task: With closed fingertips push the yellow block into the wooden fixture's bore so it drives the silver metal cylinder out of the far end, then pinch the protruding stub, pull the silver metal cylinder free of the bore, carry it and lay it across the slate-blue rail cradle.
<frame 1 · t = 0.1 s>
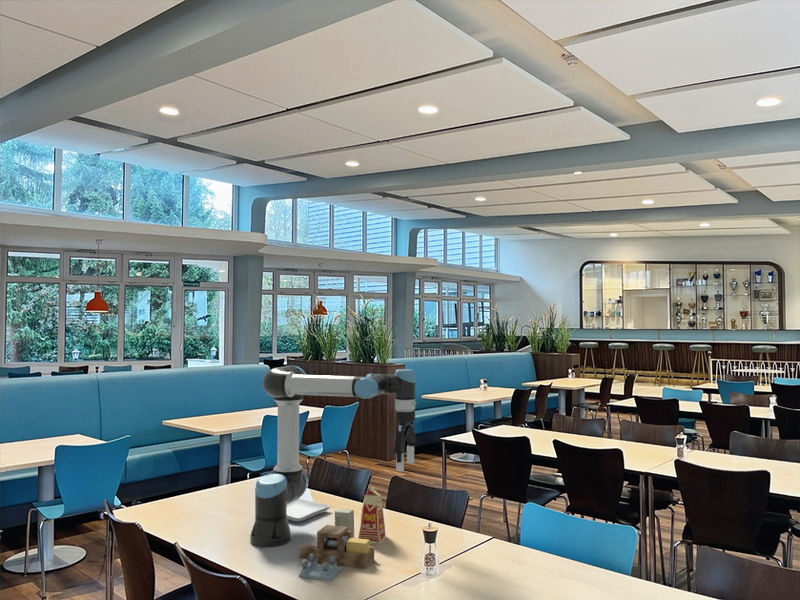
hand: (405, 467, 239), 28 cm above the table, fingers open, 13 cm apart
yellow block: (357, 552, 218), point 3 cm above the table, touching wooden fixture
silver metal cylinder: (333, 549, 221), point 3 cm above the table, touching wooden fixture
milk carton: (371, 539, 242), on the table
salad plate: (296, 515, 272), on the table
skincare box: (344, 544, 237), on the table
cradle: (320, 573, 209), on the table
wooden fixture: (335, 559, 220), on the table
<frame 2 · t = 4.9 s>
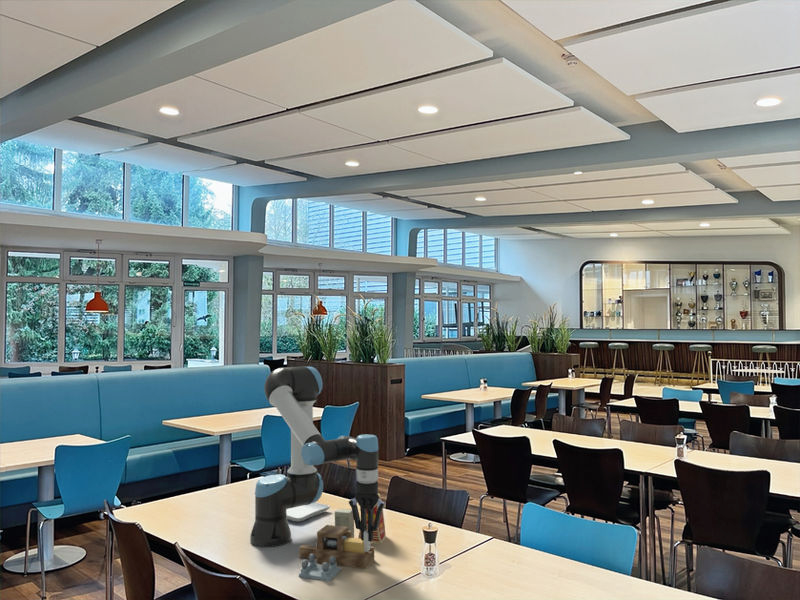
hand: (366, 550, 217), 5 cm above the table, fingers closed
yellow block: (355, 551, 218), point 4 cm above the table, touching silver metal cylinder, gripper
silver metal cylinder: (332, 549, 221), point 3 cm above the table, touching wooden fixture, yellow block
everything else where it was.
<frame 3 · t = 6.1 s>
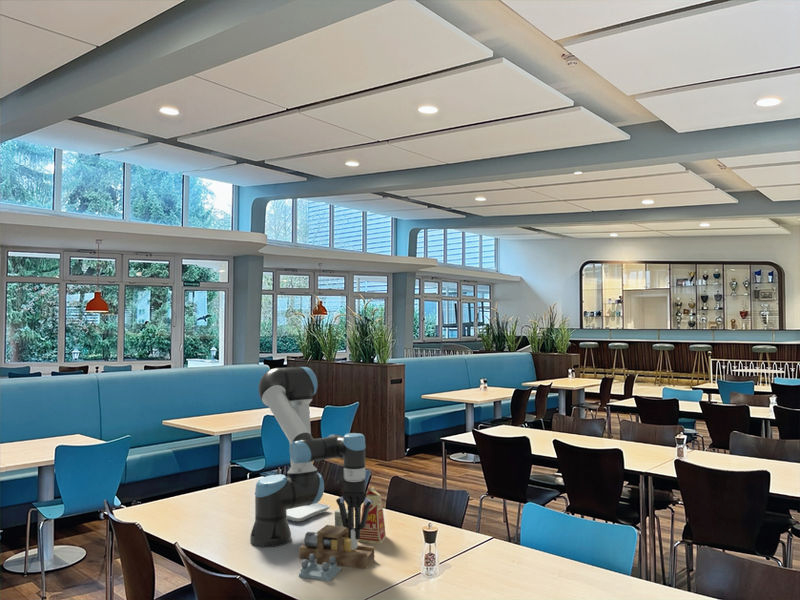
hand: (354, 548, 219), 5 cm above the table, fingers closed
yellow block: (342, 550, 220), point 4 cm above the table, touching silver metal cylinder, gripper
silver metal cylinder: (320, 547, 222), point 3 cm above the table, touching wooden fixture, yellow block
everything else where it was.
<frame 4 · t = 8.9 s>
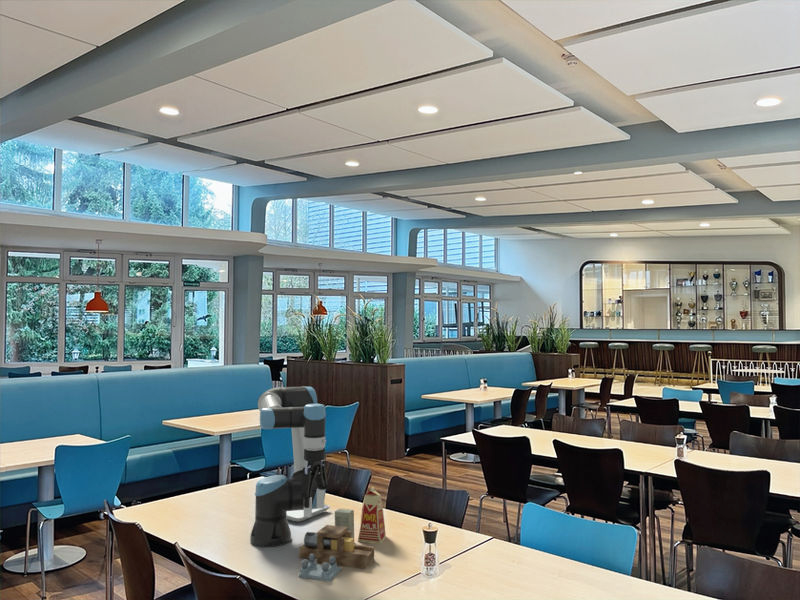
hand: (314, 512, 223), 16 cm above the table, fingers open, 10 cm apart
yellow block: (342, 550, 220), point 3 cm above the table, touching wooden fixture
silver metal cylinder: (320, 547, 222), point 3 cm above the table, touching wooden fixture
everything else where it was.
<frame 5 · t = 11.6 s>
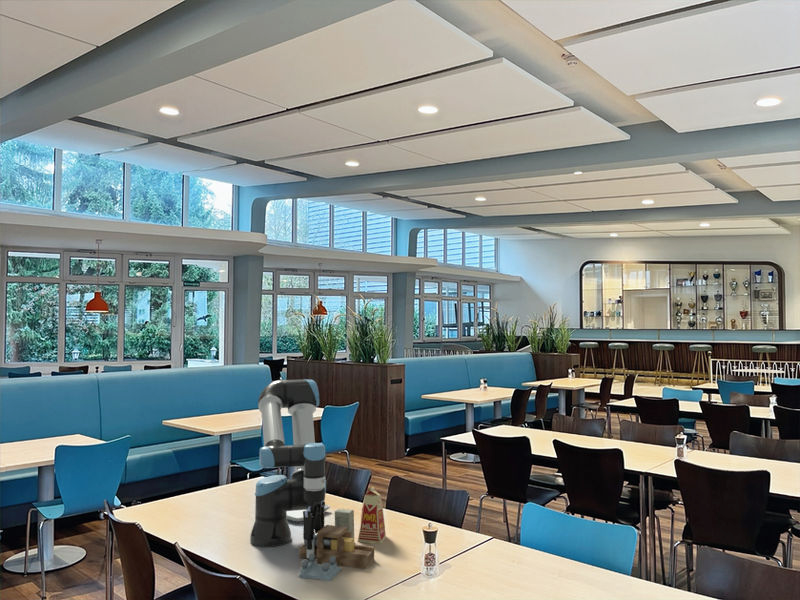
hand: (314, 555, 223), 1 cm above the table, fingers closed on silver metal cylinder, 5 cm apart
silver metal cylinder: (320, 547, 222), point 3 cm above the table, touching wooden fixture, gripper
everything else where it was.
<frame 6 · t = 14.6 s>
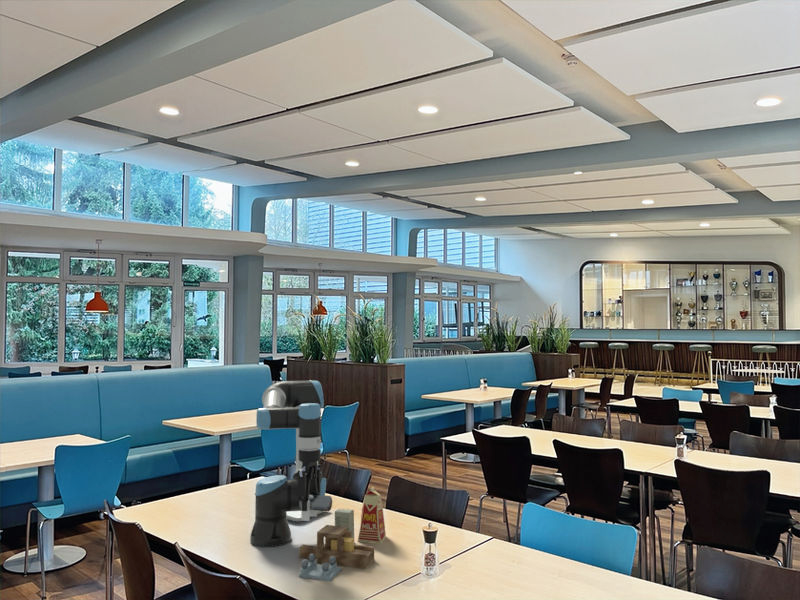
hand: (309, 518, 216), 16 cm above the table, fingers closed on silver metal cylinder, 5 cm apart
silver metal cylinder: (315, 510, 216), point 19 cm above the table, touching gripper
everything else where it was.
when the fingers open (3 cm above the table, at t = 17.6 s): silver metal cylinder drops 2 cm, resting on cradle.
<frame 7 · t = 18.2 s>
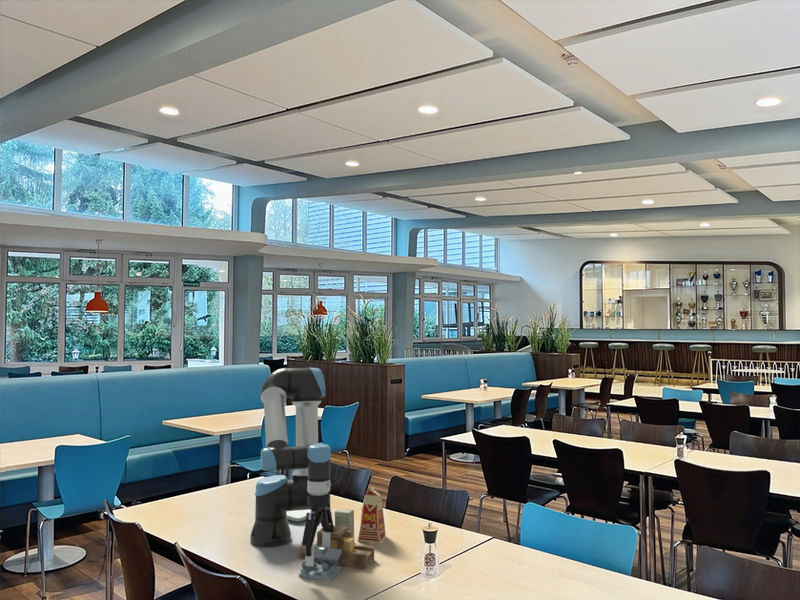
hand: (318, 558, 208), 5 cm above the table, fingers open, 12 cm apart
silver metal cylinder: (325, 563, 208), point 4 cm above the table, touching cradle
everything else where it was.
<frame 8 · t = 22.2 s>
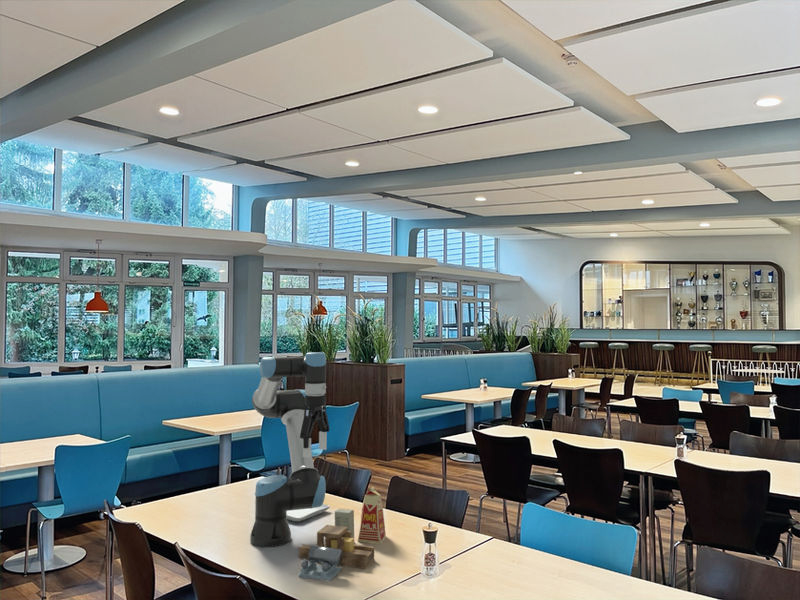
hand: (315, 453, 231), 35 cm above the table, fingers open, 13 cm apart
nothing on the table moved.
at the end: silver metal cylinder 1.6 cm off-centre on the cradle, point 3.6 cm above the cradle's base; silver metal cylinder touching cradle; the gripper is holding nothing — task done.
